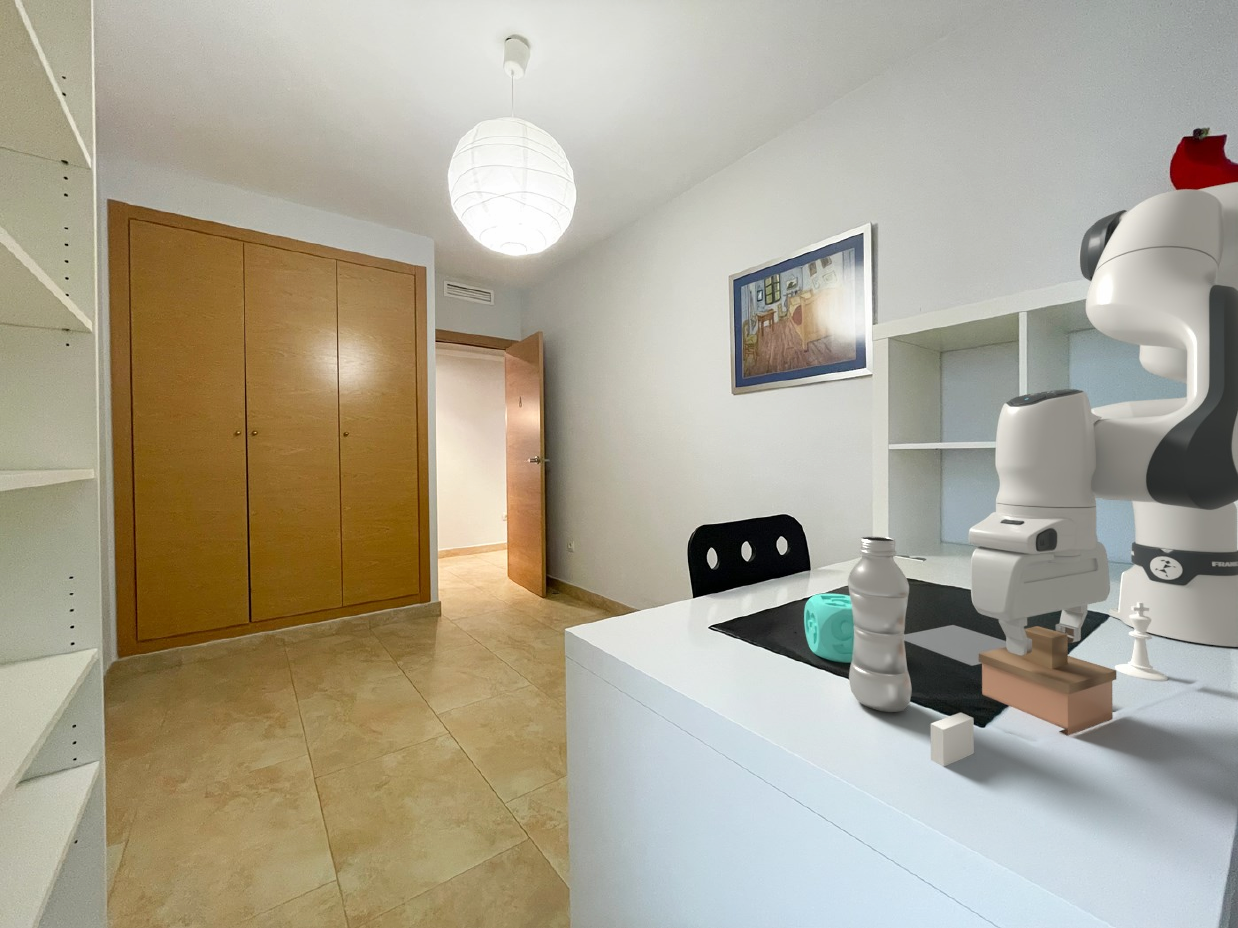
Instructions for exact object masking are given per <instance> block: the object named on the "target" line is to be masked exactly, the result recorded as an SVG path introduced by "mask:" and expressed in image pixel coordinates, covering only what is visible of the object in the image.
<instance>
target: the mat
mask: <svg viewBox="0 0 1238 928" xmlns="http://www.w3.org/2000/svg"><path fill="white" fill-rule="evenodd" d="M904 634H905V633H904ZM904 642H907V643H910V644H912V645H914V646H918V647H920V648H923V649H926V650H929V651H931V652H934V653H937V654H939V655H942V656H944V657H947V658H950V659H953V660H955V661H958V662H961V663H963V664H966V665H969V666H971V667H973V666H977V665H982V663H981V662H979V653H983V652H987V651H991V650H995V649H1000V648H1004V647H1007V646H1006V640H1003V639H1000V638H996V637H993V636H990V635H987V634H984V633H982V632H978V631H975V630H972V629H968V628H964V627H962V626H957V625H955V624H952V625H946V626H941V627H937V628H930V629H926V630H922V631H917V632H915V631H914V632H912V633H911V632H910V633H906V634H905V635H904Z"/></svg>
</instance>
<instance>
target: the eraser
mask: <svg viewBox="0 0 1238 928" xmlns="http://www.w3.org/2000/svg"><path fill="white" fill-rule="evenodd" d="M974 720H975V719H974V717H972V716H969V715H968V714H965V713H963V712H958V713H956V714H952V715H950V716H947V717H945V718H941V719H938V720H936V721H933V722H931V723H930V761H932V762H934V763H936V764H938V765H939V766H941V767H946V766H949V765H950V764H951V765H952V764H953V763H955V762H958V761H960V760H962V759H964V758H967V757H969V756H971V755H974V754H975V753H974V752H975V748H974V745H975V744H974V742H975V739H974V738H975V735H974Z"/></svg>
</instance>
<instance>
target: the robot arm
mask: <svg viewBox="0 0 1238 928" xmlns="http://www.w3.org/2000/svg"><path fill="white" fill-rule="evenodd" d="M1078 250H1079V251H1078V264H1079V267H1080V272H1081V274H1082V276H1083V277H1084V278H1085V279H1086V280H1088V281H1090V285H1089V288H1088V290H1087V293H1086V298H1085V314H1086V316H1087V318H1088V320H1089V322H1090V323H1091V325H1092V326H1093V327H1094V328H1095V329H1096V330H1097V331H1099V332H1101V334H1103V335H1105V336H1107V337H1109V338H1111V339H1113V340H1116V341H1119V342H1123V343H1127V344H1132V345H1136V346H1139V356H1138V357H1139V359H1138V360H1139V362H1140V365H1141V366H1142V368H1143V369H1145V371H1147V372H1148V373H1151V374H1152V375H1155V376H1157V377H1161V378H1164V379H1167V380H1171V381H1175V382H1180V383H1183V384H1186V396H1184V397H1177V398H1175V397H1173V398H1172V397H1171V398H1160V399H1159V398H1158V399H1145V400H1144V399H1143V400H1127V401H1122V402H1121V401H1120V402H1116V403H1111V404H1106V405H1101V406H1097V407H1093V408H1091V407H1092V406H1091V403H1090V400H1089V396H1088V394H1087V392H1086V391H1083V390H1080V389H1076V388H1075V389H1073V388H1072V389H1071V388H1068V389H1067V388H1066V389H1055V390H1049V391H1048V390H1047V391H1041V392H1037V393H1029V394H1025V395H1020V396H1016V397H1013V398H1011V399H1009V400H1008V401H1006V402H1005V403H1004V404H1003V405H1002V407H1001V411H1000V413H999V416H998V421H997V427H996V434H995V435H996V436H995V437H996V438H995V457H994V458H995V460H994V462H995V470H996V472H997V475H998V479H999V488H998V492H997V494H996V498H995V511H993V512H991V513H990V514H989V515H988V516H987V517H986V518H984V519H983V520H981V521H979V522H978V523H976V524H974V525H973V526H971V527H970V528H969V530H968V542H969V544H970V545H971V546H976V548H975V549H974V550H973V552H972V553H971V554H972V555H971V558H970V592H971V593H970V595H971V601H972V606H974V608H975V610H976V612H977V613H978V614H981V615H983V616H986V617H990V618H992V619H993V618H994V619H996V620H998V623H999V625H1000V627H1001V629H1002V631H1003V632H1004V635H1005V638H1006V639H1005V641H1006V646H1007V650H1008V651H1009V652H1011V653H1014V654H1017V655H1021V656H1022V655H1026V654H1029V653H1031V652H1032V648H1031V646H1032V639H1030V638H1027V636H1026V633H1025V629H1026V628H1025V627H1026V626H1028V618H1030V617H1036V616H1040V615H1044V614H1049V613H1054V612H1059V611H1061V614H1060V619H1059V623H1056V624H1055V631H1057V632H1061V633H1064V634H1067V638H1068V643H1069V644H1071V643H1072V644H1073V643H1076V642H1079V641H1080V640H1082V637H1081V635H1082V634H1081V633H1082V631H1081V630H1082V629H1081V628H1082V626H1083V624H1084V622H1085V619H1086V617H1087V614H1088V605H1091V604H1096V603H1101V602H1106V601H1107V599H1108V597H1109V595H1110V592H1111V581H1110V567H1109V561H1108V560H1109V559H1108V554H1107V553H1108V552H1107V550H1106V547H1105V545H1104V543H1102V542H1101V541H1098V540H1099V539H1098V538H1099V537H1098V535H1097V501H1096V499H1102V500H1106V501H1108V500H1109V501H1121V502H1123V501H1124V502H1126V501H1127V502H1131V503H1132V509H1133V518H1134V535H1135V536H1134V539H1135V541H1134V542H1132V543H1131V549H1130V555H1131V557H1130V558H1131V562H1132V564H1133V565H1132V566H1131V567H1130V568H1129V569H1126V570H1125V571H1122V573H1121V576H1120V578H1121V579H1120V586H1119V587H1120V588H1119V599H1118V607H1117V608H1110V609H1109V611H1108V615H1109V616H1110V617H1113V618H1116V619H1118V620H1120V621H1121V622H1122V623H1123V624H1125V625H1127V626H1129V627H1130V628H1131V627H1132V628H1134V627H1133V625H1132V622H1131V620H1130V618H1129V616H1130V615H1133V614H1137V611H1134V610H1131V606H1134V607H1137V602H1142V603H1143V607H1148V608H1149V611H1143V615H1145V616H1147V617H1149V618H1151V623H1150V624H1149V626H1148V629H1147V630H1146V633H1148V634H1149V633H1150V634H1153V635H1157V636H1162V637H1165V638H1166V637H1167V638H1171V639H1175V640H1180V641H1185V642H1189V643H1190V642H1191V643H1195V644H1196V643H1197V644H1204V645H1211V646H1212V645H1213V646H1220V647H1234V648H1236V647H1237V648H1238V507H1237V506H1236V503H1234V502H1237V501H1238V181H1236V182H1229V183H1225V184H1219V185H1214V186H1209V187H1205V188H1200V189H1187V188H1185V189H1184V188H1183V189H1177V190H1176V189H1175V190H1169V191H1166V192H1163V193H1162V192H1161V193H1158V194H1156V195H1153V196H1151V197H1148V198H1146V199H1144V200H1143V201H1141V202H1140V203H1138V204H1136V205H1135V206H1134V207H1132V208H1131V209H1130V210H1125V209H1122V210H1119V211H1117V212H1114V213H1111V214H1109V215H1107V216H1104V217H1102V218H1100V219H1098V220H1097V221H1096V222H1094V223H1093V224H1092V225H1091V226H1090V227H1089V228H1088V229H1087V230H1086V231H1085V233H1084V235H1083V237H1082V241H1081V244H1080V246H1079V249H1078Z"/></svg>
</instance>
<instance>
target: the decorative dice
mask: <svg viewBox="0 0 1238 928" xmlns="http://www.w3.org/2000/svg"><path fill="white" fill-rule="evenodd" d="M803 611H804V612H803V613H804V614H803V615H804V617H803V620H804V621H803V623H804V631H805V637H806V641H807V645H808V647H809V648H810V650H811V652H812V653H813V654H815V655H816V656H817V657H819V658H823V659H825V660H828V661H831V662H837V663H848V664H849V663H850V664H851V662H852V656H853V642H854V623H853V612H852V605H851V599H850V595H847V594H840V593H819V594H815V595H812V596H811V597H810V598H809V599H807V601H806V603H805V605H804V610H803Z"/></svg>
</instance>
